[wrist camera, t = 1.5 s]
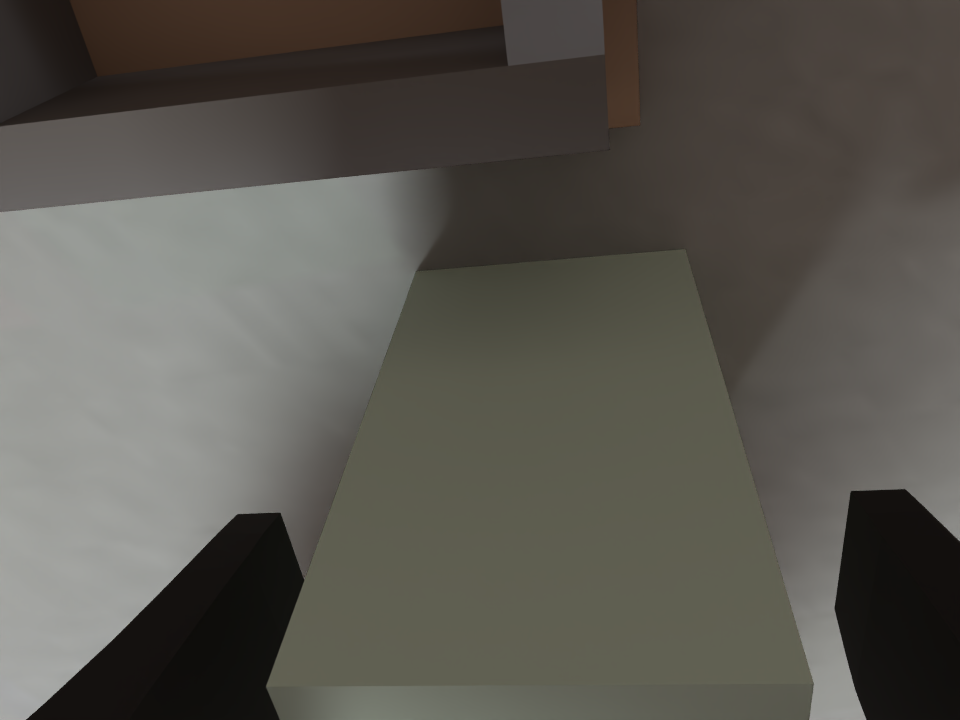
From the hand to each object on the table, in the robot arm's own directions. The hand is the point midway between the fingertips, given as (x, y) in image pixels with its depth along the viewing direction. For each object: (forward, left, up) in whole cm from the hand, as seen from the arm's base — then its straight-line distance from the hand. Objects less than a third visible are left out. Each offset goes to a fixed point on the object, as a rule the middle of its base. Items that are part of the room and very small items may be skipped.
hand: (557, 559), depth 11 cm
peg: (0, 0, -5) cm, 5 cm away
